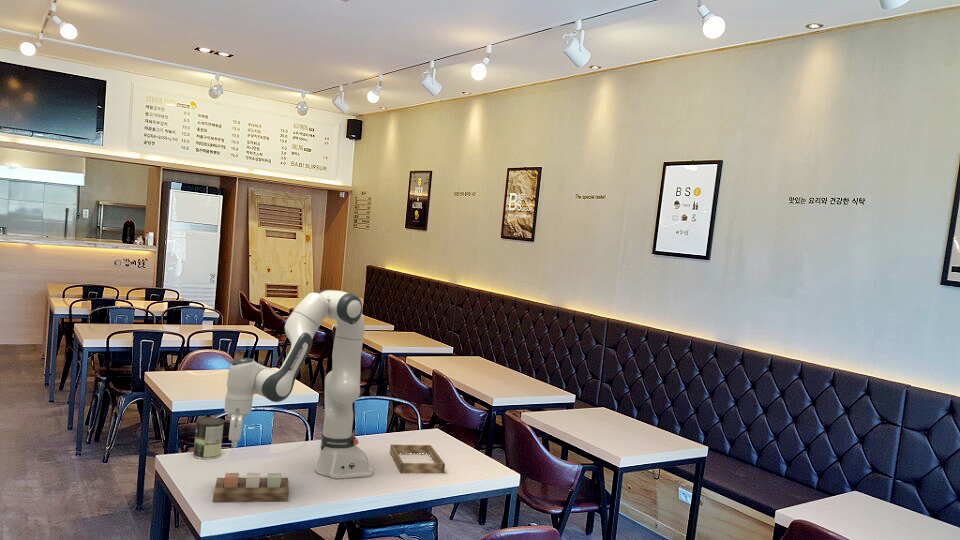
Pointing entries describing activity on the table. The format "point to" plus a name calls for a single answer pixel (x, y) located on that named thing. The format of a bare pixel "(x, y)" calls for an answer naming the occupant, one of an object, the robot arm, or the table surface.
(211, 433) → the coffee can
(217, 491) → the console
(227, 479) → the key terracotta
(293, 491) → the table surface
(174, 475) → the table surface
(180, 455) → the table surface
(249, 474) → the cream cube
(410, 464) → the frame
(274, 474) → the key sage
